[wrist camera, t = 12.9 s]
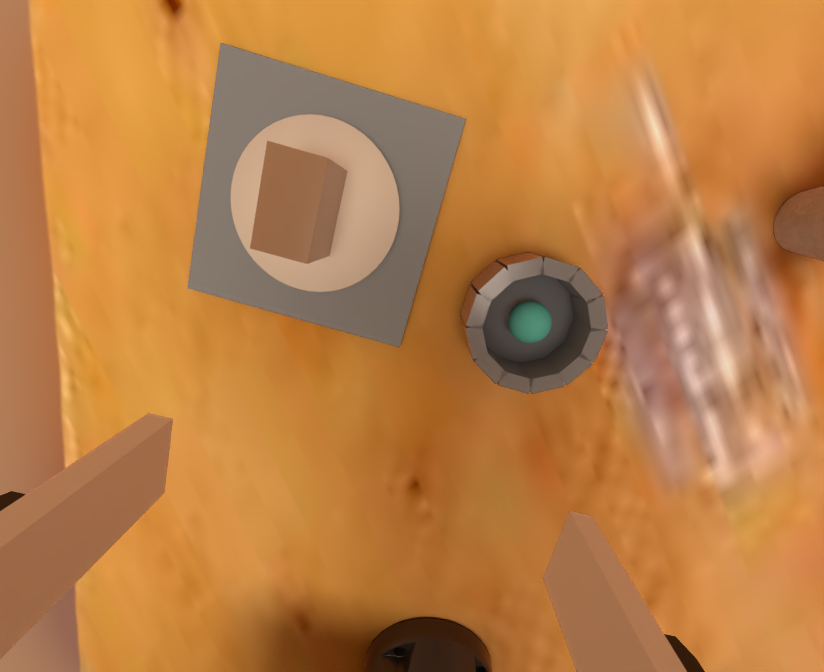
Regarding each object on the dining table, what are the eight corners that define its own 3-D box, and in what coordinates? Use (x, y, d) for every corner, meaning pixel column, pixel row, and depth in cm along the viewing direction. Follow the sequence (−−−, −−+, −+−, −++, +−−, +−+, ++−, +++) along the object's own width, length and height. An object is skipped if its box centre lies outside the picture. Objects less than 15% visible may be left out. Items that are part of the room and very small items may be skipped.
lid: (377, 307, 37) (365, 330, 29) (226, 266, 37) (172, 278, 29) (418, 145, 34) (417, 122, 26) (250, 96, 33) (196, 56, 25)
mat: (400, 345, 39) (399, 347, 38) (191, 287, 38) (187, 288, 37) (465, 120, 34) (465, 119, 33) (224, 45, 33) (220, 42, 32)
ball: (536, 341, 37) (548, 353, 34) (499, 330, 37) (506, 341, 34) (550, 303, 36) (564, 312, 33) (512, 292, 36) (521, 300, 33)
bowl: (556, 384, 39) (575, 406, 35) (447, 353, 39) (450, 372, 34) (601, 273, 37) (629, 281, 32) (484, 238, 36) (493, 241, 31)
